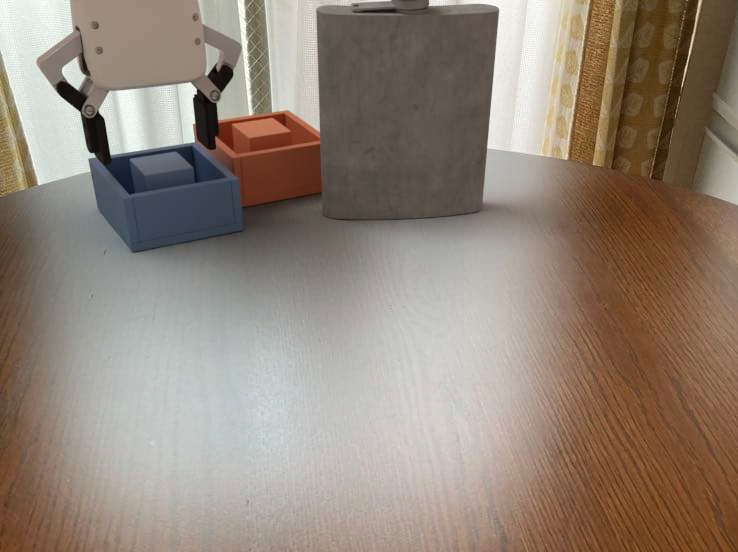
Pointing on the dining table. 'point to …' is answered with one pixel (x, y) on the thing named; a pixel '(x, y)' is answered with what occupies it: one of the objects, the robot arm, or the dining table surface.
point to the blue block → (160, 172)
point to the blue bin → (168, 200)
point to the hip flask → (404, 107)
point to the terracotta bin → (272, 161)
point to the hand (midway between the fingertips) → (155, 152)
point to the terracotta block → (260, 135)
